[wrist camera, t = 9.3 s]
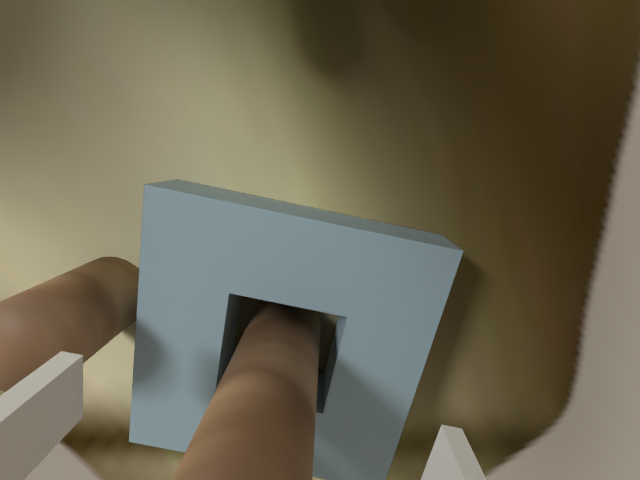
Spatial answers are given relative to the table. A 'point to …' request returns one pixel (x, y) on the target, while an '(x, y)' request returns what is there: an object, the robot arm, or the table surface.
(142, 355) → the hole block
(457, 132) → the table surface
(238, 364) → the long pin
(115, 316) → the short pin
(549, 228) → the table surface
